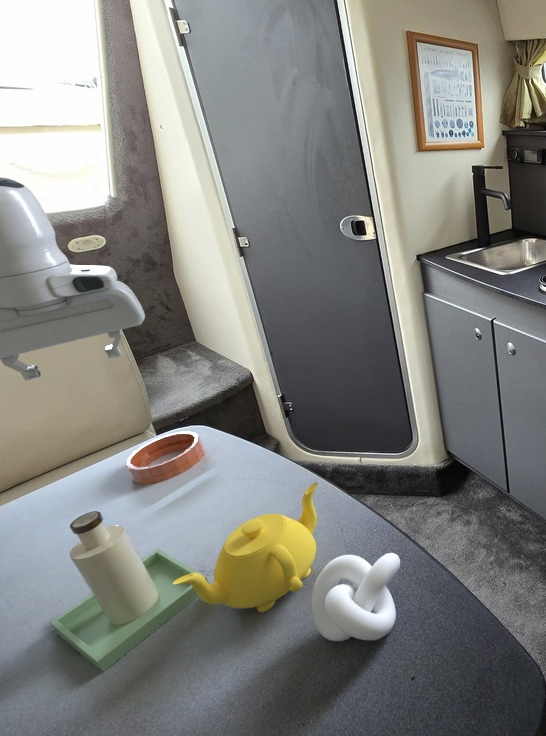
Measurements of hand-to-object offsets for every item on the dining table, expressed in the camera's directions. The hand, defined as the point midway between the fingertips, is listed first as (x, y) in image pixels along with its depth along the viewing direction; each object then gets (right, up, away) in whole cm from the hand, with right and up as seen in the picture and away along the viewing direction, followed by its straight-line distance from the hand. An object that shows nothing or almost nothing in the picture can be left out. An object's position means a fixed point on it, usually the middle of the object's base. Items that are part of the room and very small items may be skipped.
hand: (76, 366), depth 79 cm
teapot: (+34, -33, -3) cm, 48 cm away
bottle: (+15, -35, -6) cm, 38 cm away
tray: (+15, -35, -6) cm, 39 cm away
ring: (-4, -25, +23) cm, 34 cm away
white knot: (+51, -35, -9) cm, 62 cm away
